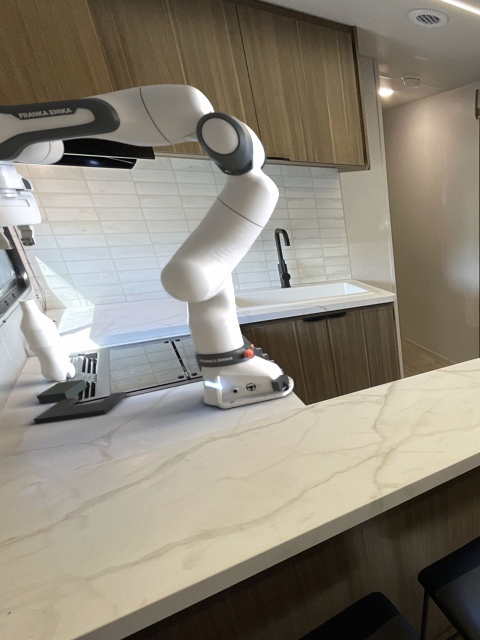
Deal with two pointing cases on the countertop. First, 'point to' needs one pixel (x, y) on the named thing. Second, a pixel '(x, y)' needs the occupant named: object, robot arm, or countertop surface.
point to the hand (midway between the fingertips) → (19, 247)
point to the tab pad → (62, 391)
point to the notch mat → (79, 408)
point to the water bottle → (45, 342)
